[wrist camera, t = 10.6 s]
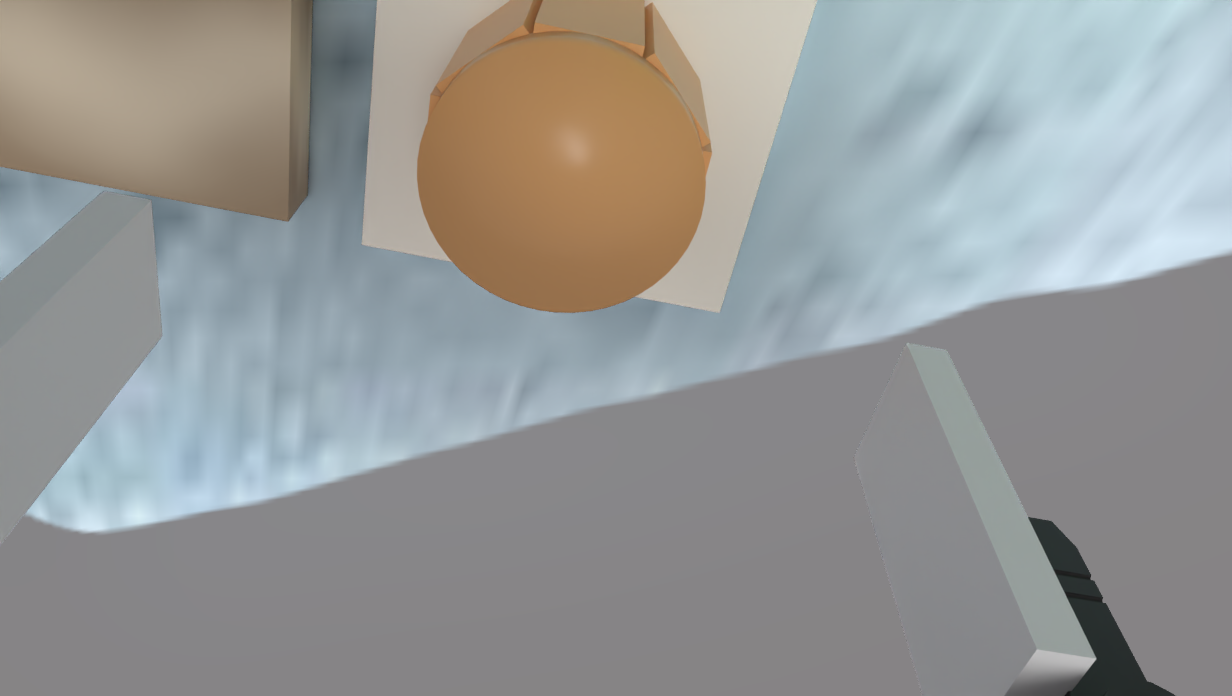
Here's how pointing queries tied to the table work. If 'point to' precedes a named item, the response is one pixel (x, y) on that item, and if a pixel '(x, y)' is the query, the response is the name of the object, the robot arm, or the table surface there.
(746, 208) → the pad
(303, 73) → the post base
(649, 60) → the cap
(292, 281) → the table surface
